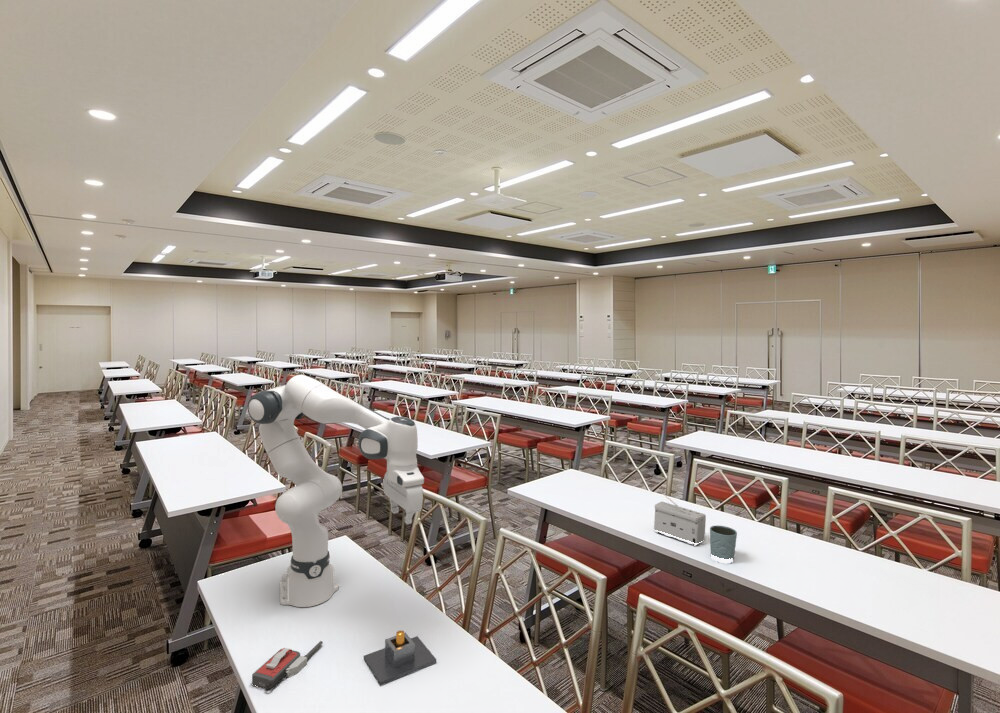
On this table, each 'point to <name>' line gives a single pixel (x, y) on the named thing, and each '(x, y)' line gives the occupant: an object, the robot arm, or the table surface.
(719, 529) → the grey green cup
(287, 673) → the walkie-talkie
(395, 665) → the hollow square tube
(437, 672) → the table surface
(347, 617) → the table surface
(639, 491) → the table surface
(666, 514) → the stereo radio cassette player
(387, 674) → the base
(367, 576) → the table surface
